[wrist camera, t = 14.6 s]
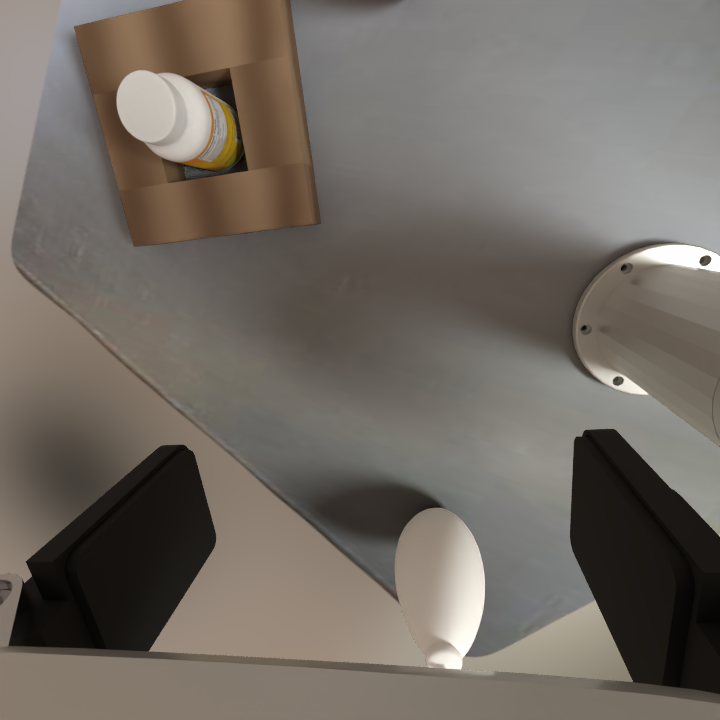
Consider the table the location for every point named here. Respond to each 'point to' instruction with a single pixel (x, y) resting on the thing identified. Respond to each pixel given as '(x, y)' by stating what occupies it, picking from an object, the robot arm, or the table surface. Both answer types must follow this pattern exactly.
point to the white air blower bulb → (440, 585)
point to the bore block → (206, 69)
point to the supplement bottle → (180, 120)
